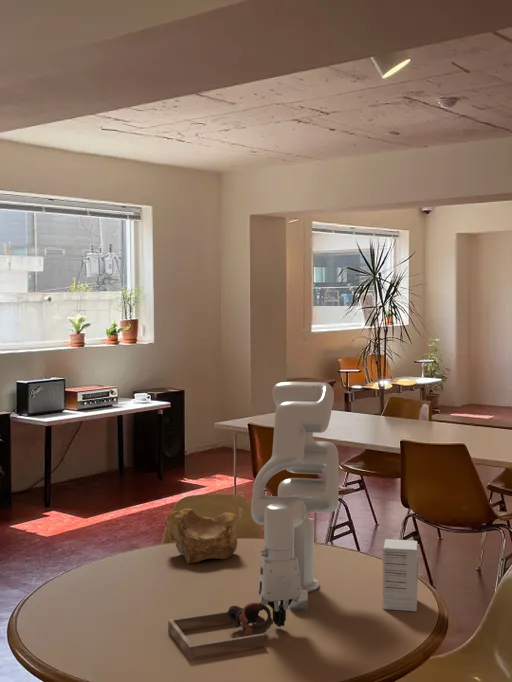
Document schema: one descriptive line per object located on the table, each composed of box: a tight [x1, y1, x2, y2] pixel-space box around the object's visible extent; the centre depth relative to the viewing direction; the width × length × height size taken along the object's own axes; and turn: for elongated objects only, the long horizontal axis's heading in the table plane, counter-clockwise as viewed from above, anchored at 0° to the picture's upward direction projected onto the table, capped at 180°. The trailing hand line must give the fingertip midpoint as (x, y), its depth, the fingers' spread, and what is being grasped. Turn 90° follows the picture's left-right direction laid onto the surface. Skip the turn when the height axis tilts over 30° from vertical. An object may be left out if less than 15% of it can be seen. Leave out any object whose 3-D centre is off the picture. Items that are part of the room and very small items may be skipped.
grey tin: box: [288, 587, 309, 613], centre depth 228 cm, size 5×5×5 cm
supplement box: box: [382, 538, 419, 612], centre depth 230 cm, size 10×9×17 cm
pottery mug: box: [227, 602, 274, 637], centre depth 211 cm, size 12×10×8 cm
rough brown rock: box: [166, 507, 238, 565], centre depth 270 cm, size 23×17×15 cm
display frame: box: [167, 610, 266, 661], centre depth 207 cm, size 18×19×3 cm
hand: (279, 624), depth 214 cm, fingers closed
